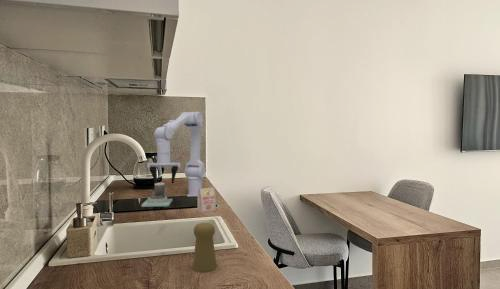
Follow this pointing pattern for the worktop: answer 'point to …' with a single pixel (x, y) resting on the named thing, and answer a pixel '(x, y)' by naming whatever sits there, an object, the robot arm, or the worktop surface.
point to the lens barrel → (160, 189)
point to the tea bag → (206, 200)
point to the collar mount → (157, 199)
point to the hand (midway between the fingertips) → (164, 183)
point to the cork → (204, 248)
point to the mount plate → (157, 203)
